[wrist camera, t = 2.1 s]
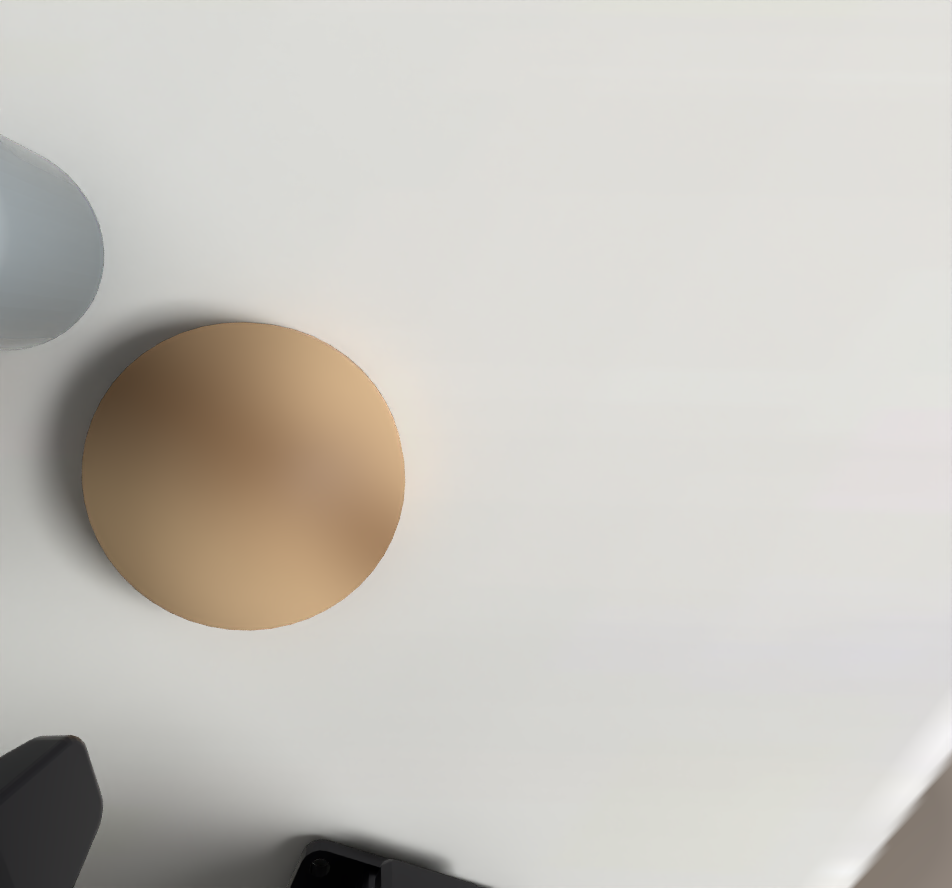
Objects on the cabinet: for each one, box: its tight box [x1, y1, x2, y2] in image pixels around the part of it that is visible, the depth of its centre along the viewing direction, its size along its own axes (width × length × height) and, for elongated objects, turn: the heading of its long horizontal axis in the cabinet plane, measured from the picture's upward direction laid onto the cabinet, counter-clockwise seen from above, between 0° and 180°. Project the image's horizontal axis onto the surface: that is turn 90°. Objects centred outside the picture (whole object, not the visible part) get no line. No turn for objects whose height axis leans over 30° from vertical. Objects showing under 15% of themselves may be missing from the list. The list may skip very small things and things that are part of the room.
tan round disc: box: [82, 322, 405, 630], centre depth 17 cm, size 7×7×1 cm
